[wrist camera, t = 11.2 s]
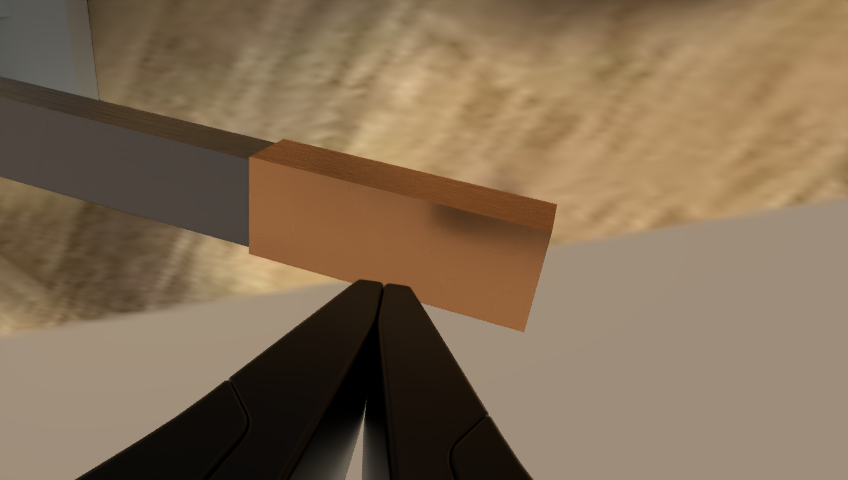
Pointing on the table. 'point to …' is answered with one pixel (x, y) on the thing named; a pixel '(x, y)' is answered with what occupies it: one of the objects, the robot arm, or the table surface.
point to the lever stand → (48, 45)
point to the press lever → (286, 200)
